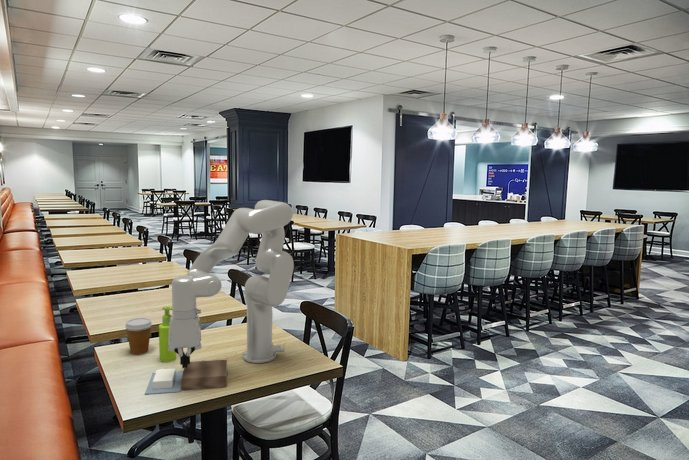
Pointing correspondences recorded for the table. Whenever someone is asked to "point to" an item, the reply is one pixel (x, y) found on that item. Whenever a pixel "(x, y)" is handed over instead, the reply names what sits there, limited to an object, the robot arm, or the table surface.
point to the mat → (174, 389)
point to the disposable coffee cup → (138, 335)
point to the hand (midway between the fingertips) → (185, 366)
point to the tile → (164, 378)
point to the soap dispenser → (165, 337)
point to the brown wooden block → (205, 375)
